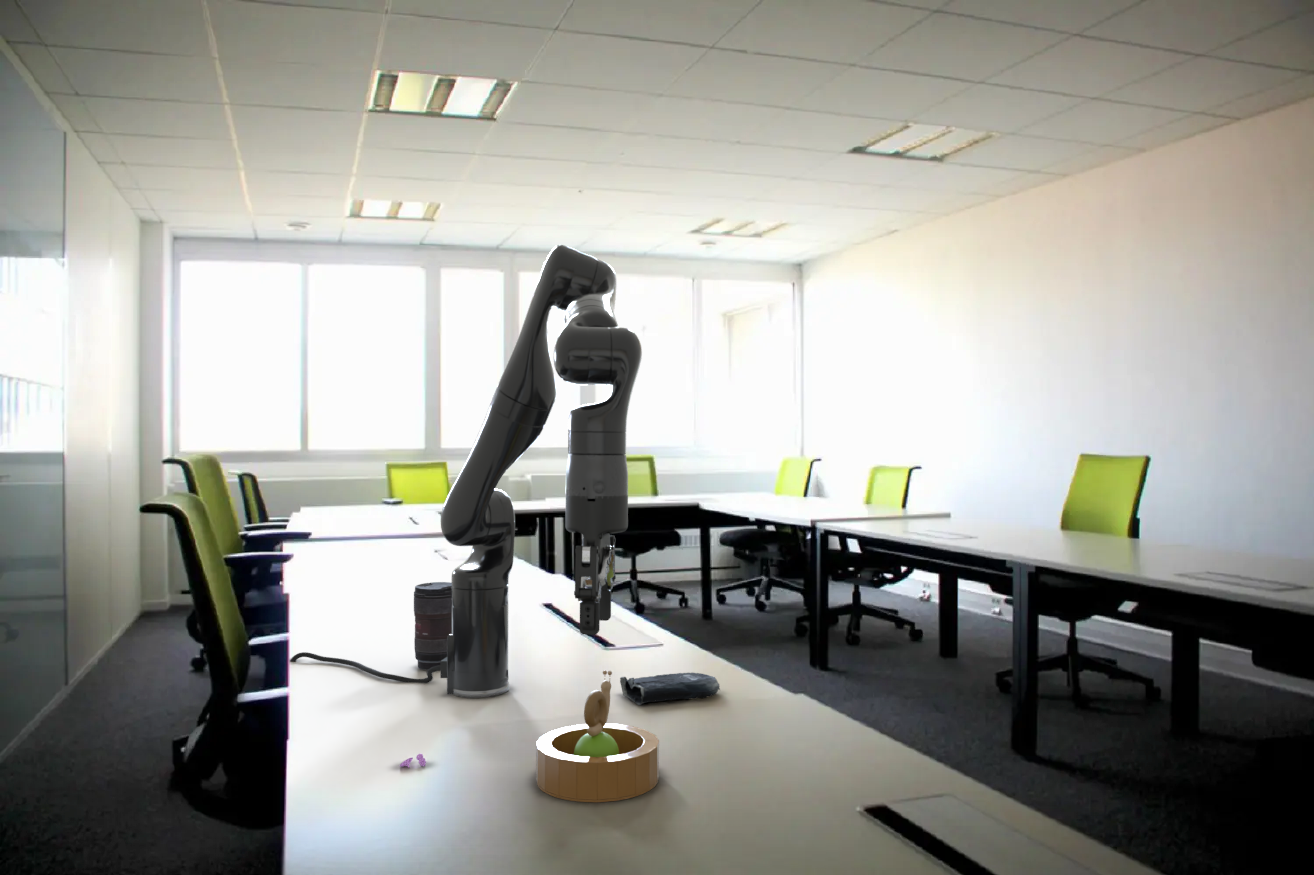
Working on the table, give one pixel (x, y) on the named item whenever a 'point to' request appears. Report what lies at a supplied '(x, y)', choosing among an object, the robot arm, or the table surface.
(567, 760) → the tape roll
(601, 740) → the snail figurine
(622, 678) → the dark blue pouch
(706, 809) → the table surface
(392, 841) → the table surface
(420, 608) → the camera lens
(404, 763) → the earpods
